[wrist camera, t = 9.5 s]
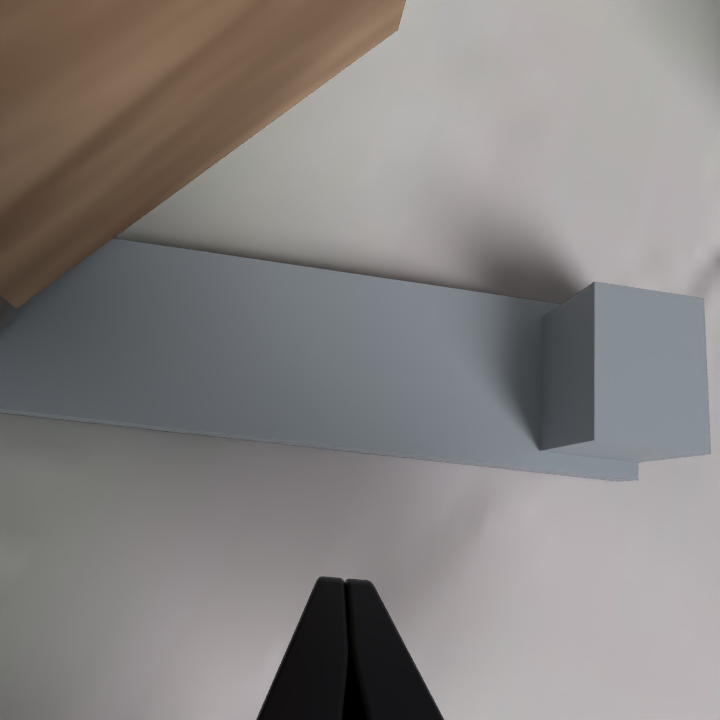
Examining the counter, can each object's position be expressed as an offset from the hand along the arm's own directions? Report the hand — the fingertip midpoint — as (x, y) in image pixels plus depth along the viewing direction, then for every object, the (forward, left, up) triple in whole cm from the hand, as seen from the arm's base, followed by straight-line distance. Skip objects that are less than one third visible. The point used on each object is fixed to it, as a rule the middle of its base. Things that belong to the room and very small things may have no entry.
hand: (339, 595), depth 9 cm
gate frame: (+5, -2, -7) cm, 9 cm away
